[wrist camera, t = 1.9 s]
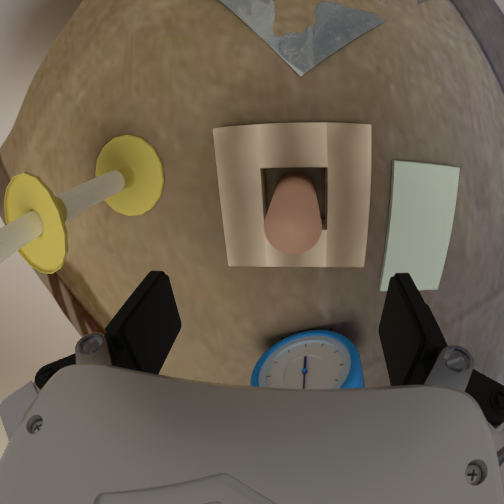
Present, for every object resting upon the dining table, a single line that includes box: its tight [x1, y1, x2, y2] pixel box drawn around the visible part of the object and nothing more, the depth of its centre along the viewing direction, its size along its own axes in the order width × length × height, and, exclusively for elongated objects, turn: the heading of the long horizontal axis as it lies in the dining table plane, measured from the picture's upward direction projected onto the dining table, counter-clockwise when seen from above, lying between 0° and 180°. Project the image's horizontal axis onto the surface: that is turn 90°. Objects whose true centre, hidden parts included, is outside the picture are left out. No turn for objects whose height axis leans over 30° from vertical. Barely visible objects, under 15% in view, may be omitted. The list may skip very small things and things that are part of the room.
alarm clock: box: [251, 328, 365, 389], centre depth 31 cm, size 13×6×15 cm, turn 112°
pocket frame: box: [213, 122, 371, 267], centre depth 27 cm, size 14×14×3 cm
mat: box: [379, 160, 460, 291], centre depth 27 cm, size 8×15×1 cm, turn 5°
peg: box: [264, 172, 322, 254], centre depth 24 cm, size 4×4×10 cm
